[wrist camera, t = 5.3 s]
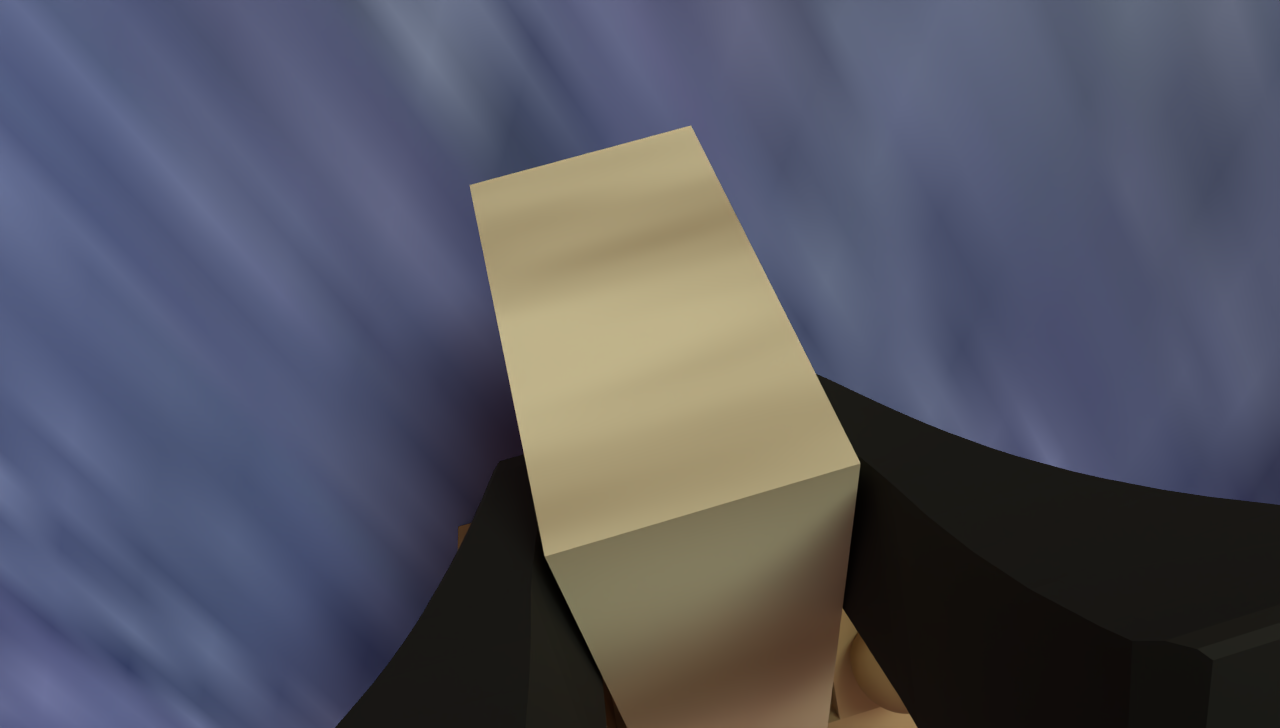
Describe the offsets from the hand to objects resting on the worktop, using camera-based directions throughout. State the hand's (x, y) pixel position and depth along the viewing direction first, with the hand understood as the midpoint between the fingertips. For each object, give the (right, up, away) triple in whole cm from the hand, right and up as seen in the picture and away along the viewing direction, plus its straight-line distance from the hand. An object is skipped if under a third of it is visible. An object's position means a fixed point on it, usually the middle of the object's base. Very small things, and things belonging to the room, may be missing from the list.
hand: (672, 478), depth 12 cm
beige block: (-1, +1, +4) cm, 4 cm away
